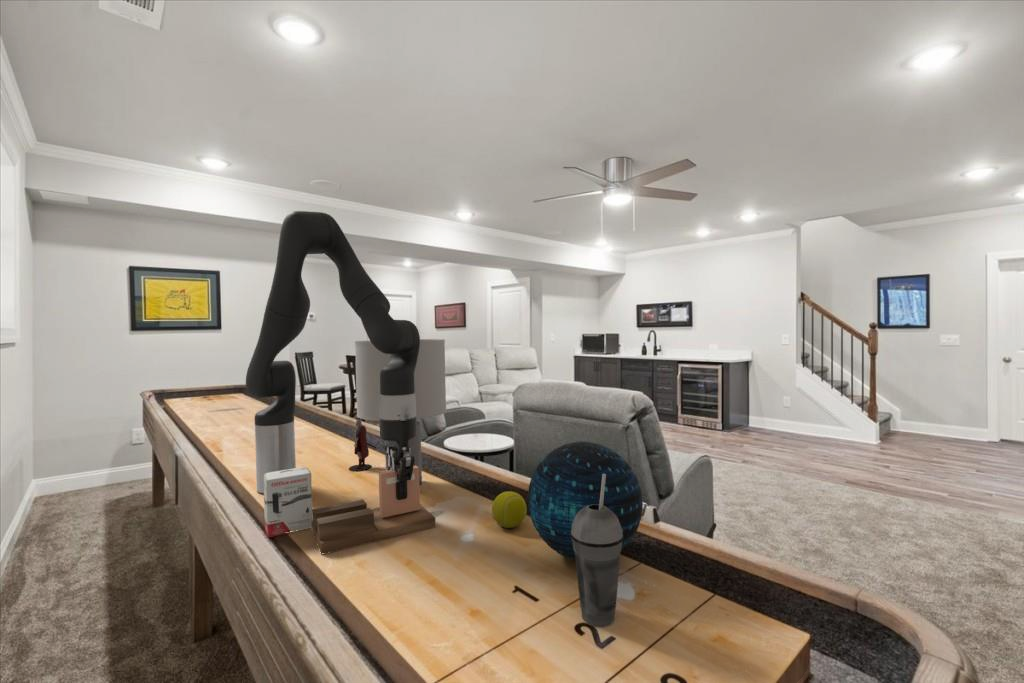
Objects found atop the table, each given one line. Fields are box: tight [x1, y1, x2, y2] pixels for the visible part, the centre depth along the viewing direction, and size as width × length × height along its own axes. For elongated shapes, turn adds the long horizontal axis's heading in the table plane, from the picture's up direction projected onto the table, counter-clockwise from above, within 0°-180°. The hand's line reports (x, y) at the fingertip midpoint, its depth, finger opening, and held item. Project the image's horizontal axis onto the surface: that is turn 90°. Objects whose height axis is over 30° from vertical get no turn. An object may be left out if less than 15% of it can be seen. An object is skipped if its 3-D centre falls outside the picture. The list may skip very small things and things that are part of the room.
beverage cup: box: [570, 474, 624, 628], centre depth 65 cm, size 7×7×20 cm
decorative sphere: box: [527, 441, 644, 561], centre depth 83 cm, size 20×20×20 cm
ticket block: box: [311, 499, 436, 555], centre depth 96 cm, size 12×22×5 cm, turn 121°
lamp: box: [354, 338, 447, 487], centre depth 124 cm, size 23×23×38 cm
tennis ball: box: [491, 491, 528, 529], centre depth 97 cm, size 7×7×7 cm
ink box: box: [263, 466, 313, 539], centre depth 97 cm, size 8×5×12 cm, turn 123°
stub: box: [378, 466, 421, 518], centre depth 99 cm, size 2×8×9 cm, turn 121°
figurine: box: [348, 417, 378, 472], centre depth 140 cm, size 7×7×15 cm
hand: (399, 496), depth 99 cm, fingers closed on stub, 2 cm apart
